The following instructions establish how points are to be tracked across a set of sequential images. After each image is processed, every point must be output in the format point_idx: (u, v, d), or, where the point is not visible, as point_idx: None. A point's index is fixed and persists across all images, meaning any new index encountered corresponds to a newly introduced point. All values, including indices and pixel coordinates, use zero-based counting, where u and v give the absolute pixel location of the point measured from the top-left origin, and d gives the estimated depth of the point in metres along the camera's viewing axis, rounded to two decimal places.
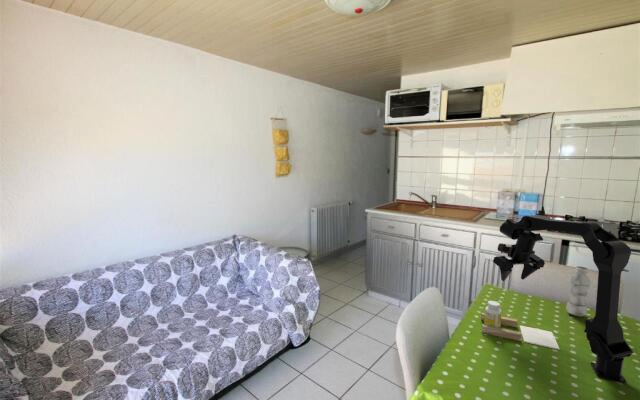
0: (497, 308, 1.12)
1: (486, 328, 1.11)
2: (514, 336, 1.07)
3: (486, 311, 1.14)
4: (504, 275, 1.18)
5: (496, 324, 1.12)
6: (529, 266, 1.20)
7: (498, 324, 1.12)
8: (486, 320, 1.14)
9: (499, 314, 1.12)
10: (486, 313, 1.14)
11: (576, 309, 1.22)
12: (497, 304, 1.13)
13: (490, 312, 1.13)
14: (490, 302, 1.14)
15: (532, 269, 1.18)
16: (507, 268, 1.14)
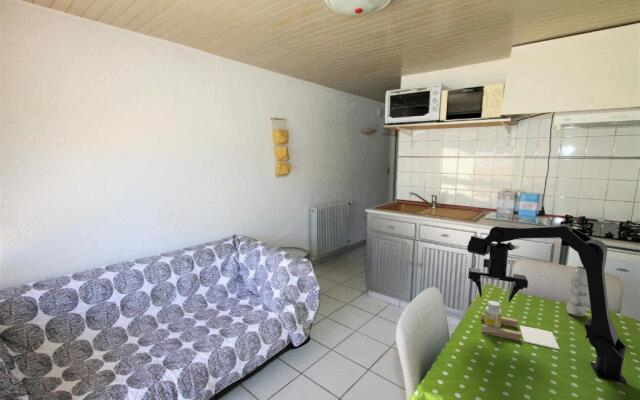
0: (497, 308, 1.12)
1: (486, 328, 1.11)
2: (514, 336, 1.07)
3: (486, 311, 1.14)
4: (478, 289, 1.15)
5: (496, 324, 1.12)
6: (512, 286, 1.10)
7: (498, 324, 1.12)
8: (486, 320, 1.14)
9: (499, 314, 1.12)
10: (486, 313, 1.14)
11: (576, 309, 1.22)
12: (497, 304, 1.13)
13: (490, 312, 1.13)
14: (490, 302, 1.14)
15: (512, 288, 1.09)
16: (473, 278, 1.13)
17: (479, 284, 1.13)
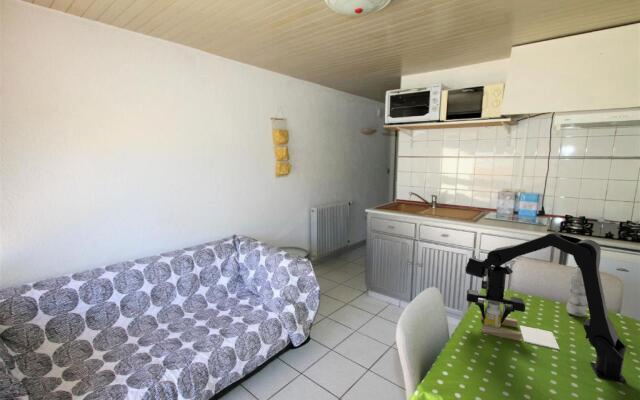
0: (497, 308, 1.12)
1: (486, 328, 1.11)
2: (514, 336, 1.07)
3: (486, 311, 1.14)
4: (481, 311, 1.15)
5: (496, 324, 1.12)
6: (504, 308, 1.12)
7: (498, 324, 1.12)
8: (486, 320, 1.14)
9: (499, 314, 1.12)
10: (486, 313, 1.14)
11: (576, 309, 1.22)
12: (497, 304, 1.13)
13: (490, 311, 1.13)
14: (490, 302, 1.14)
15: (504, 310, 1.11)
16: (471, 300, 1.14)
17: (482, 307, 1.13)
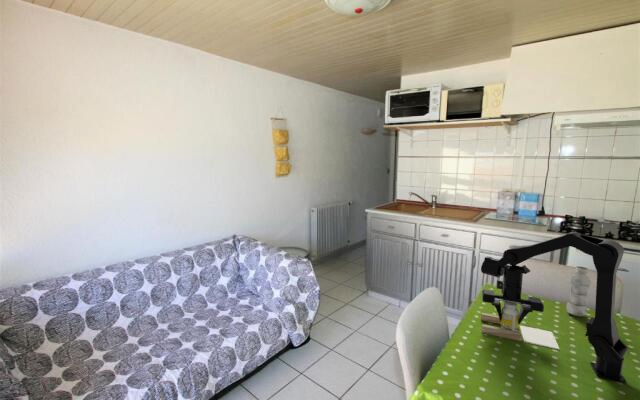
0: (514, 308, 1.10)
1: (486, 328, 1.11)
2: (514, 336, 1.07)
3: (503, 311, 1.12)
4: None
5: (513, 325, 1.10)
6: (521, 308, 1.09)
7: (515, 325, 1.10)
8: (503, 321, 1.12)
9: (516, 314, 1.09)
10: (503, 313, 1.12)
11: (576, 309, 1.22)
12: (514, 304, 1.10)
13: (507, 312, 1.10)
14: (507, 302, 1.12)
15: (522, 311, 1.08)
16: (487, 300, 1.12)
17: (499, 308, 1.11)
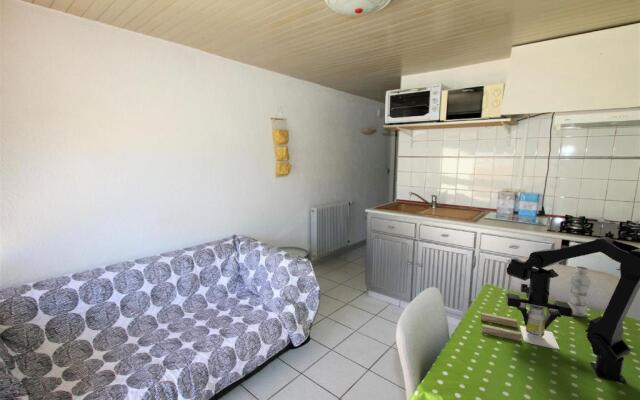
0: (541, 313, 1.06)
1: (486, 328, 1.11)
2: (514, 336, 1.07)
3: (529, 316, 1.08)
4: (523, 317, 1.09)
5: (540, 330, 1.06)
6: (548, 312, 1.06)
7: (542, 330, 1.06)
8: (529, 326, 1.08)
9: (543, 319, 1.06)
10: (529, 318, 1.08)
11: (576, 309, 1.22)
12: (541, 309, 1.07)
13: (534, 317, 1.07)
14: (533, 307, 1.08)
15: (549, 315, 1.05)
16: (512, 304, 1.08)
17: (525, 312, 1.07)
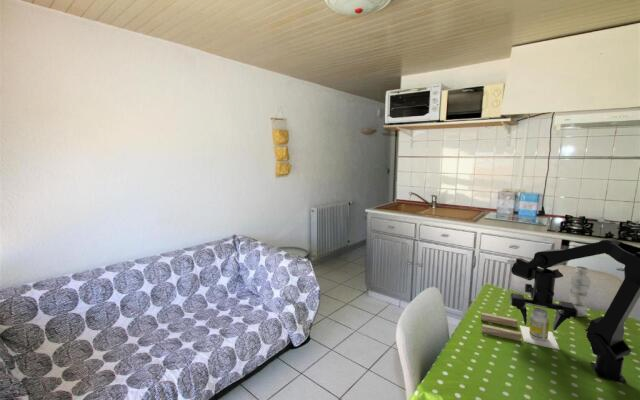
0: (544, 316, 1.06)
1: (486, 328, 1.11)
2: (514, 336, 1.07)
3: (532, 319, 1.08)
4: None
5: (544, 333, 1.06)
6: (558, 314, 1.05)
7: (546, 333, 1.06)
8: (532, 328, 1.08)
9: (547, 322, 1.06)
10: (532, 321, 1.08)
11: None
12: (544, 311, 1.07)
13: (537, 319, 1.06)
14: (536, 309, 1.08)
15: (559, 317, 1.03)
16: (516, 305, 1.08)
17: (524, 312, 1.07)
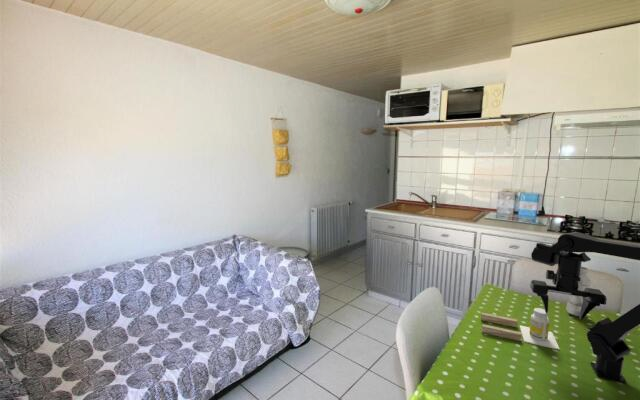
0: (545, 316, 1.06)
1: (486, 328, 1.11)
2: (514, 336, 1.07)
3: (532, 319, 1.08)
4: (543, 304, 1.02)
5: (544, 333, 1.06)
6: (585, 301, 0.97)
7: (546, 333, 1.06)
8: (532, 329, 1.08)
9: (547, 322, 1.05)
10: (532, 321, 1.08)
11: (576, 309, 1.22)
12: (545, 312, 1.06)
13: (537, 320, 1.06)
14: (536, 310, 1.08)
15: (587, 304, 0.96)
16: (539, 292, 1.00)
17: (546, 299, 1.00)
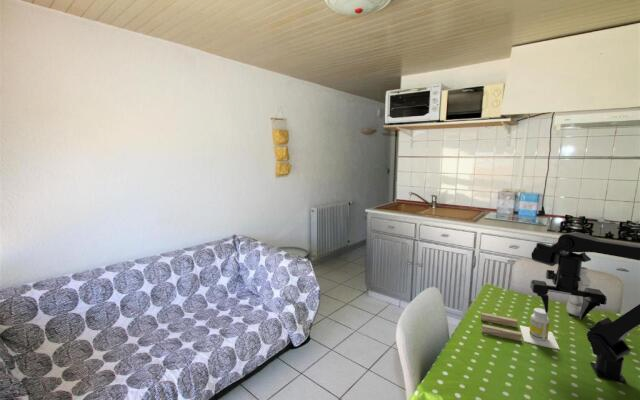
0: (545, 316, 1.06)
1: (486, 328, 1.11)
2: (514, 336, 1.07)
3: (532, 319, 1.08)
4: (543, 304, 1.02)
5: (544, 333, 1.06)
6: (585, 301, 0.97)
7: (546, 333, 1.06)
8: (532, 329, 1.08)
9: (547, 322, 1.05)
10: (532, 321, 1.08)
11: (576, 309, 1.22)
12: (545, 312, 1.06)
13: (537, 320, 1.06)
14: (536, 310, 1.08)
15: (587, 304, 0.96)
16: (539, 292, 1.00)
17: (546, 299, 1.00)
